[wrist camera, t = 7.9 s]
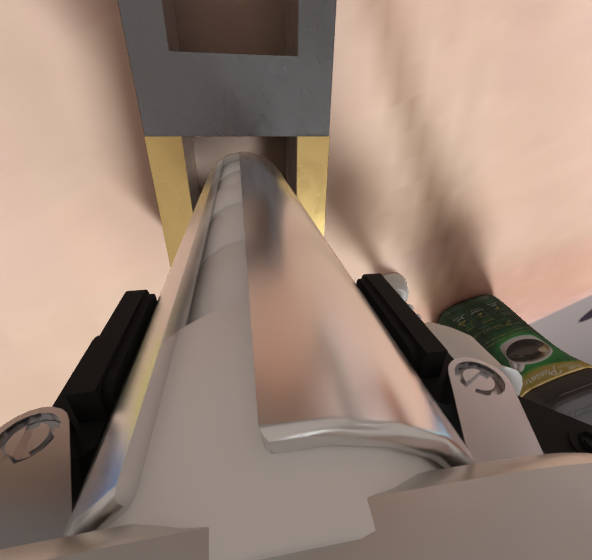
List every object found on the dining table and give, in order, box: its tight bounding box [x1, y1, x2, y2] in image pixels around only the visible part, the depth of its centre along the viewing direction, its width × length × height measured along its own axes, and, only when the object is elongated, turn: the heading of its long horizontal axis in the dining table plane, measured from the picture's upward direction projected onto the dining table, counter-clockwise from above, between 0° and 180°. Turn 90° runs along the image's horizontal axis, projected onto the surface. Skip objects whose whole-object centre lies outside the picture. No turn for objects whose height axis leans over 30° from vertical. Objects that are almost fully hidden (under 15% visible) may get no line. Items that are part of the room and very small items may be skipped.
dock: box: [118, 0, 336, 267], centre depth 25 cm, size 27×14×6 cm, turn 179°
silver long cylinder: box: [63, 152, 475, 560], centre depth 15 cm, size 6×6×25 cm
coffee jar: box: [438, 295, 592, 425], centre depth 38 cm, size 10×8×19 cm
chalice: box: [383, 273, 523, 396], centre depth 33 cm, size 7×7×18 cm
